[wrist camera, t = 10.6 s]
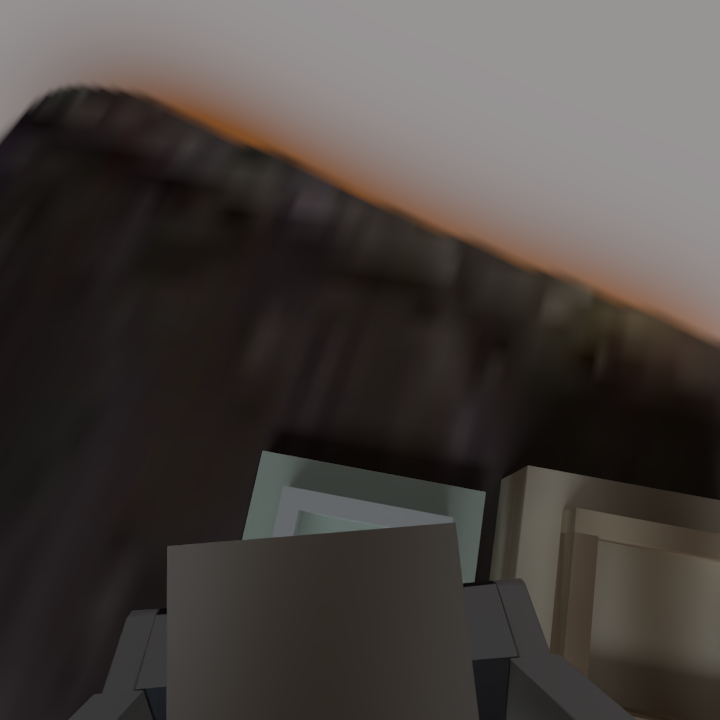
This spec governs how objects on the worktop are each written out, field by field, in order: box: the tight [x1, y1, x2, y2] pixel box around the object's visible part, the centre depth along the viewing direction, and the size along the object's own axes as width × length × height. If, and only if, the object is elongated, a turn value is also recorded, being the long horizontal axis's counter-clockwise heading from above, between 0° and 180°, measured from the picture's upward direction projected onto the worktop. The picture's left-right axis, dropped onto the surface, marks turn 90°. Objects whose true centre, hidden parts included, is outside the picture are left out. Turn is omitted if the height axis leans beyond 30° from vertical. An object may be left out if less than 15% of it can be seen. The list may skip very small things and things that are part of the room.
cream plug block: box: [166, 522, 479, 720], centre depth 12 cm, size 4×4×8 cm
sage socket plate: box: [242, 451, 486, 583], centre depth 32 cm, size 12×12×4 cm
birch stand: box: [489, 465, 720, 720], centre depth 30 cm, size 12×12×8 cm
